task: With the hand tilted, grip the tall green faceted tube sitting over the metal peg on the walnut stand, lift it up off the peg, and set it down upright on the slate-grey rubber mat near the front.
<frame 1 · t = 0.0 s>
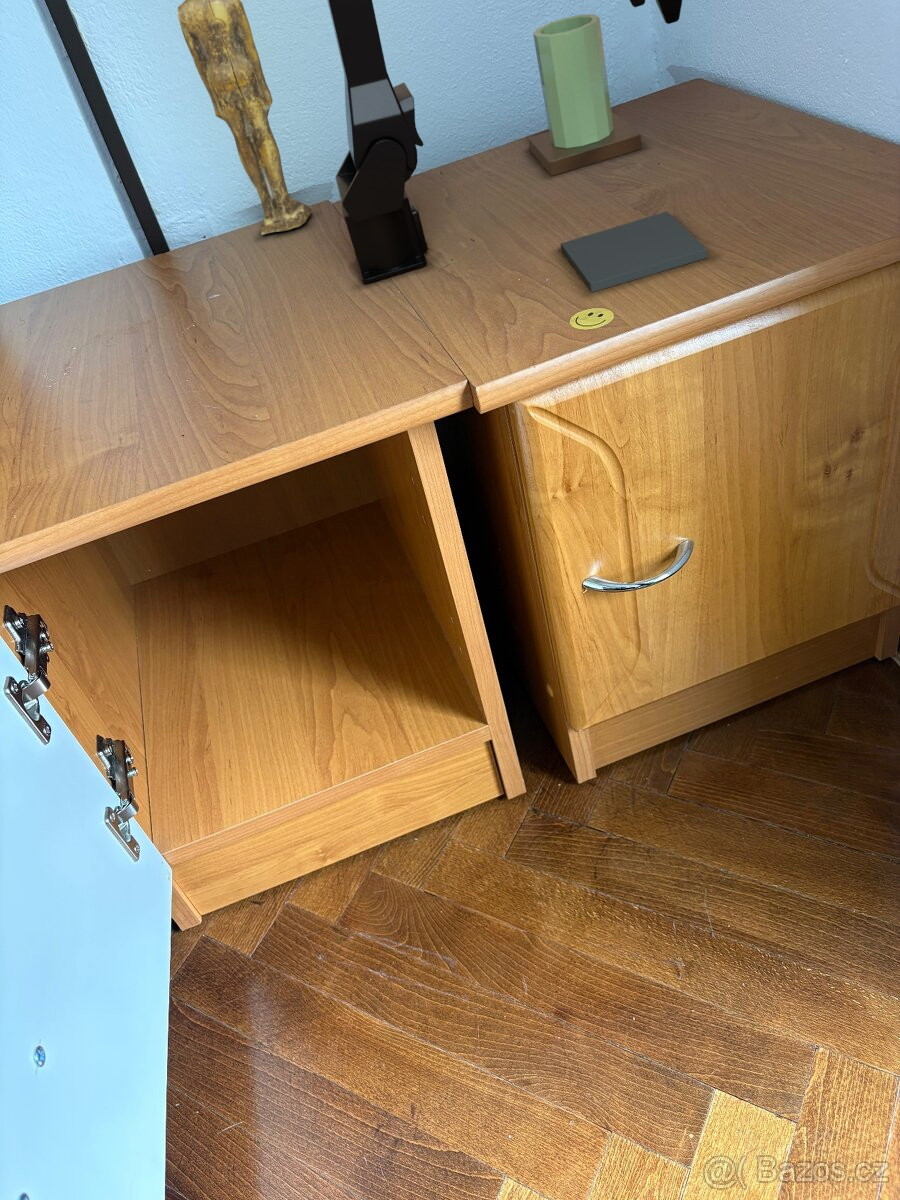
hand: (655, 13, 89), 15 cm above the table, tool pointing down, fingers open, 9 cm apart
stand: (584, 150, 111), on the table
mat: (631, 254, 88), on the table
sculpture: (287, 229, 115), on the table
green faceted tube: (582, 136, 110), point 1 cm above the table, touching stand
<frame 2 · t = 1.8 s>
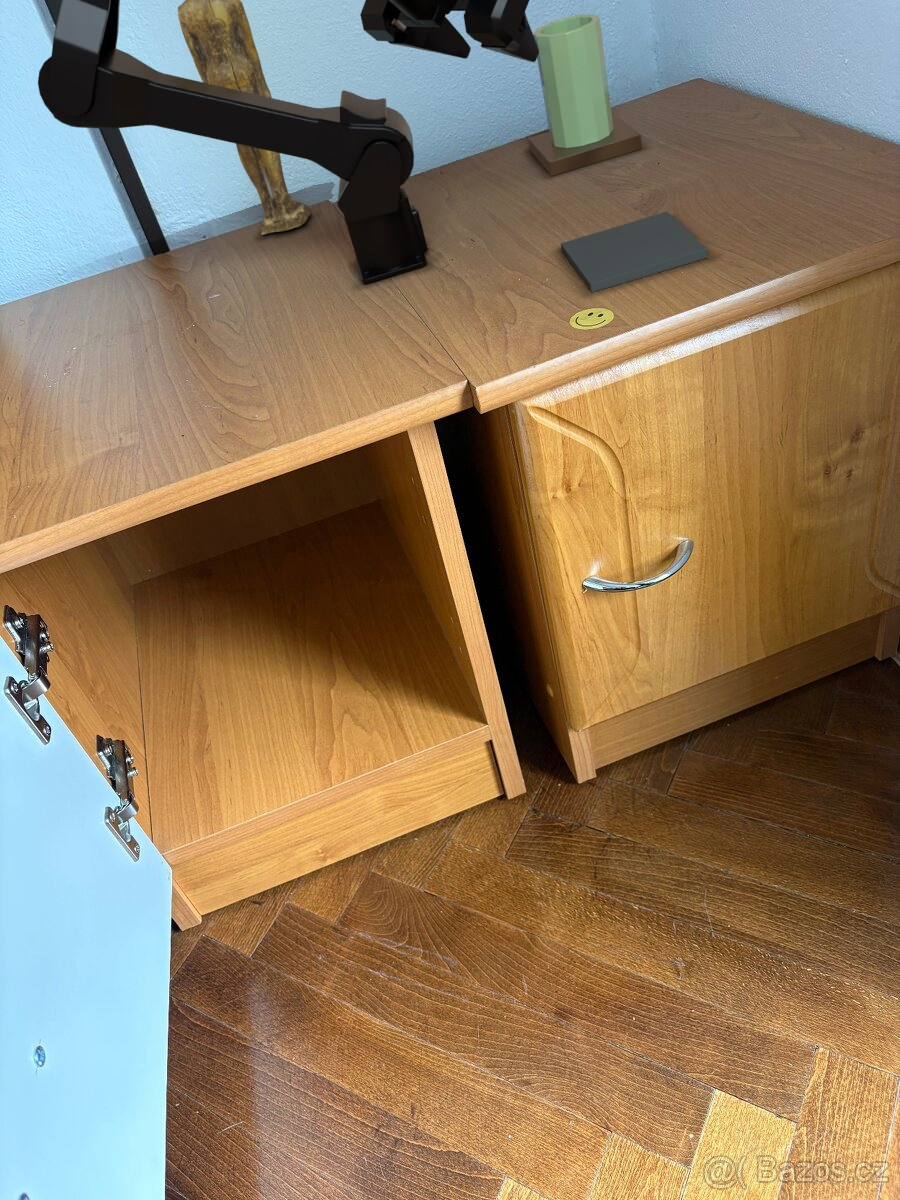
hand: (501, 55, 95), 14 cm above the table, tool tilted 45°, fingers open, 9 cm apart
nothing on the table moved.
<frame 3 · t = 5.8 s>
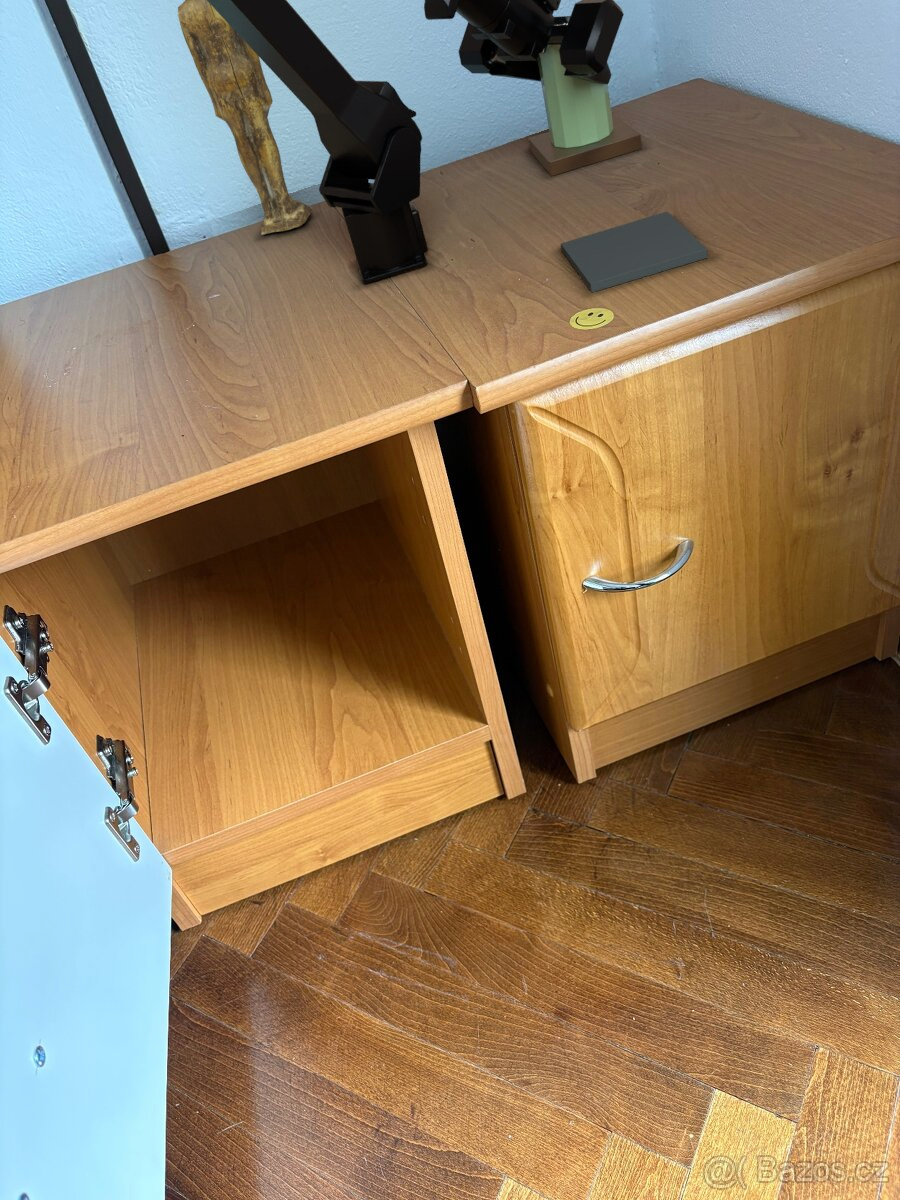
hand: (583, 79, 107), 7 cm above the table, tool tilted 45°, fingers closed on green faceted tube, 7 cm apart
green faceted tube: (582, 136, 110), point 2 cm above the table, touching gripper, stand
everything else where it was.
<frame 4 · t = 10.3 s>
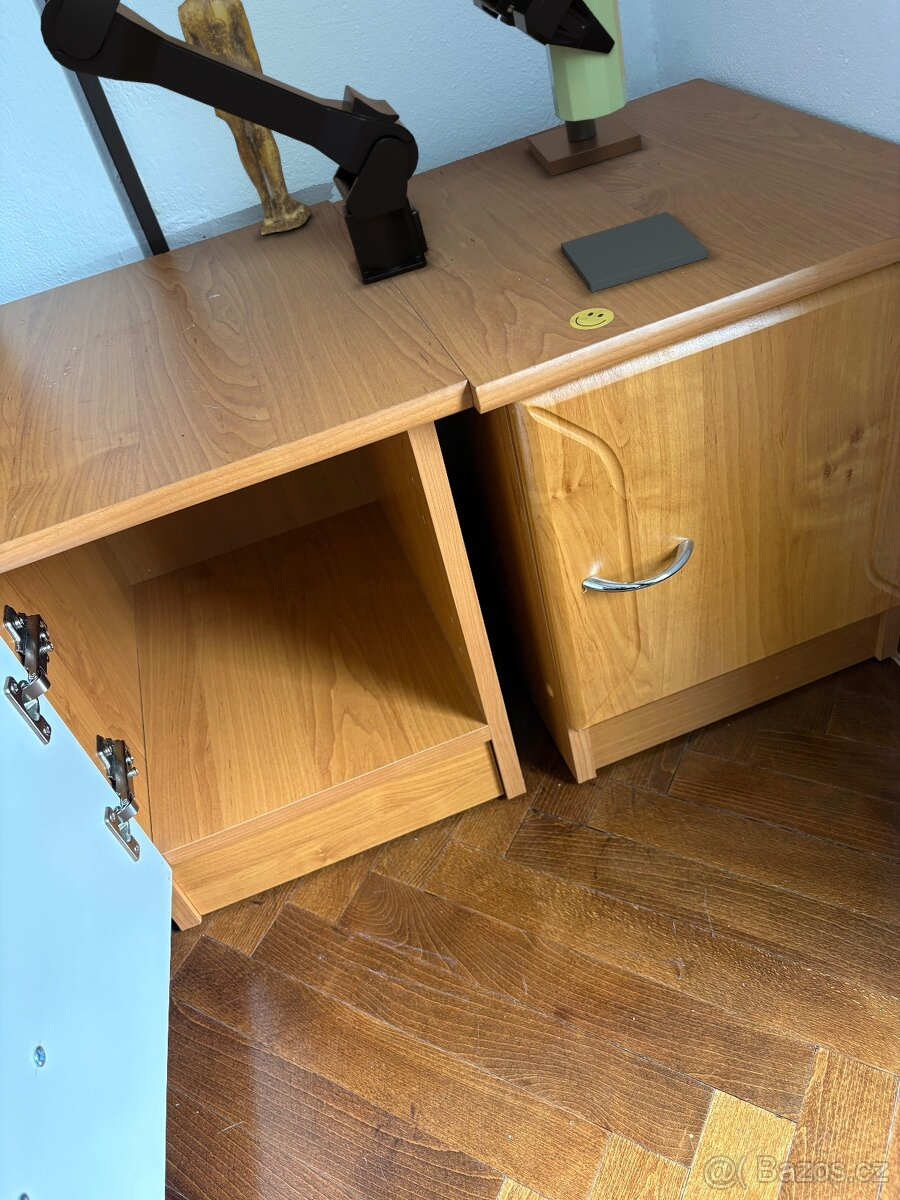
hand: (598, 41, 91), 13 cm above the table, tool tilted 45°, fingers closed on green faceted tube, 7 cm apart
green faceted tube: (591, 108, 95), point 8 cm above the table, touching gripper
everything else where it was.
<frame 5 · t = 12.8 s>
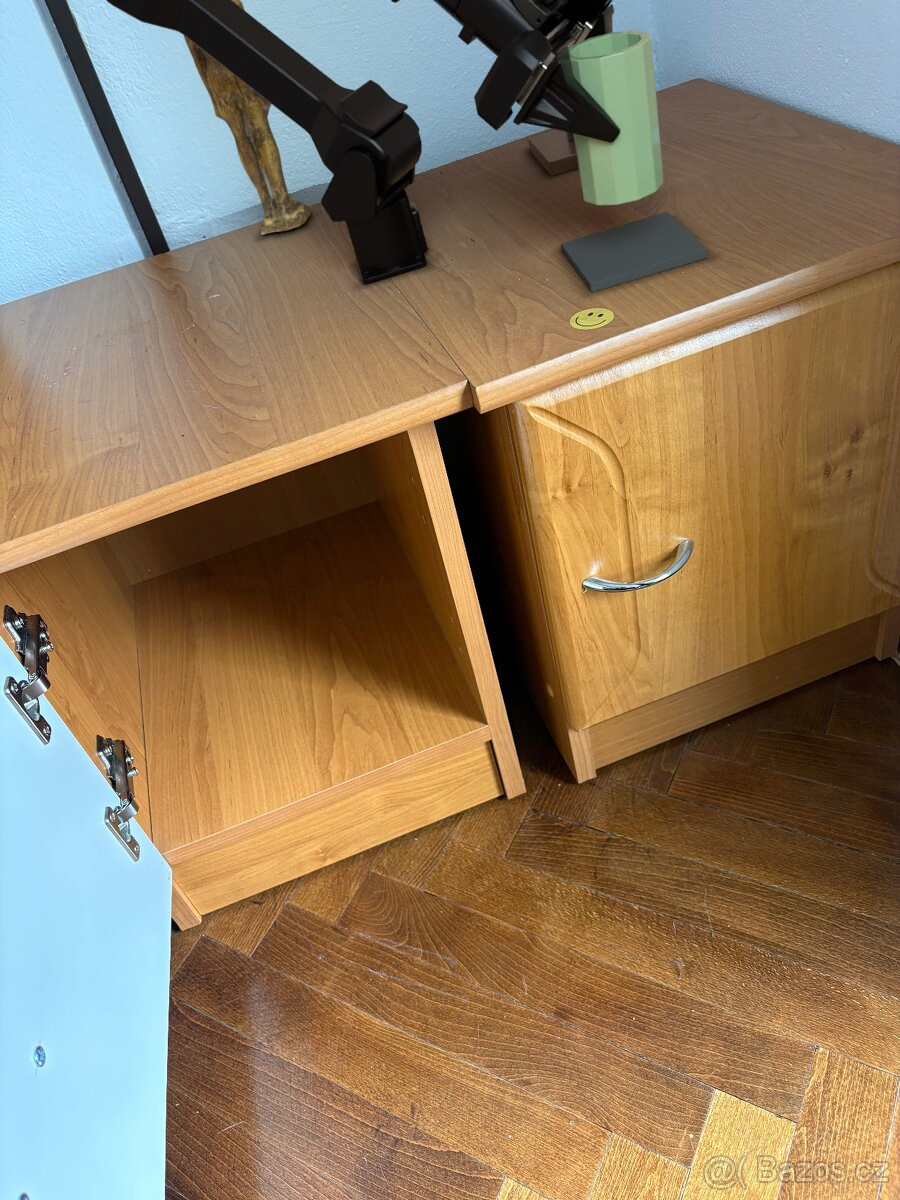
hand: (630, 121, 80), 11 cm above the table, tool tilted 45°, fingers closed on green faceted tube, 7 cm apart
green faceted tube: (622, 188, 84), point 6 cm above the table, touching gripper
everything else where it was.
when the fingers open (6 cm above the table, at t = 14.8 s): green faceted tube stays where it is, resting on mat.
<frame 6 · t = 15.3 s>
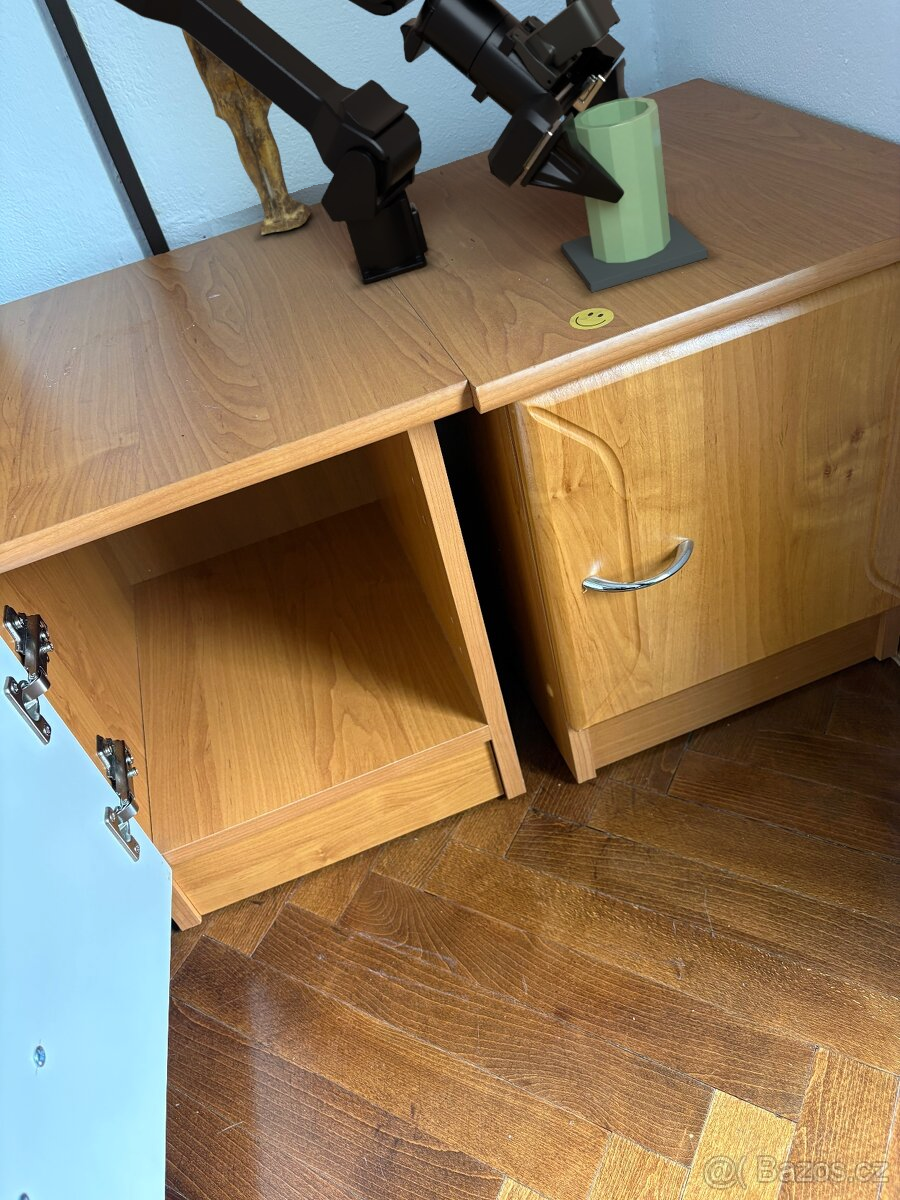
hand: (638, 175, 83), 7 cm above the table, tool tilted 45°, fingers open, 9 cm apart
green faceted tube: (630, 245, 87), point 1 cm above the table, touching mat
everything else where it was.
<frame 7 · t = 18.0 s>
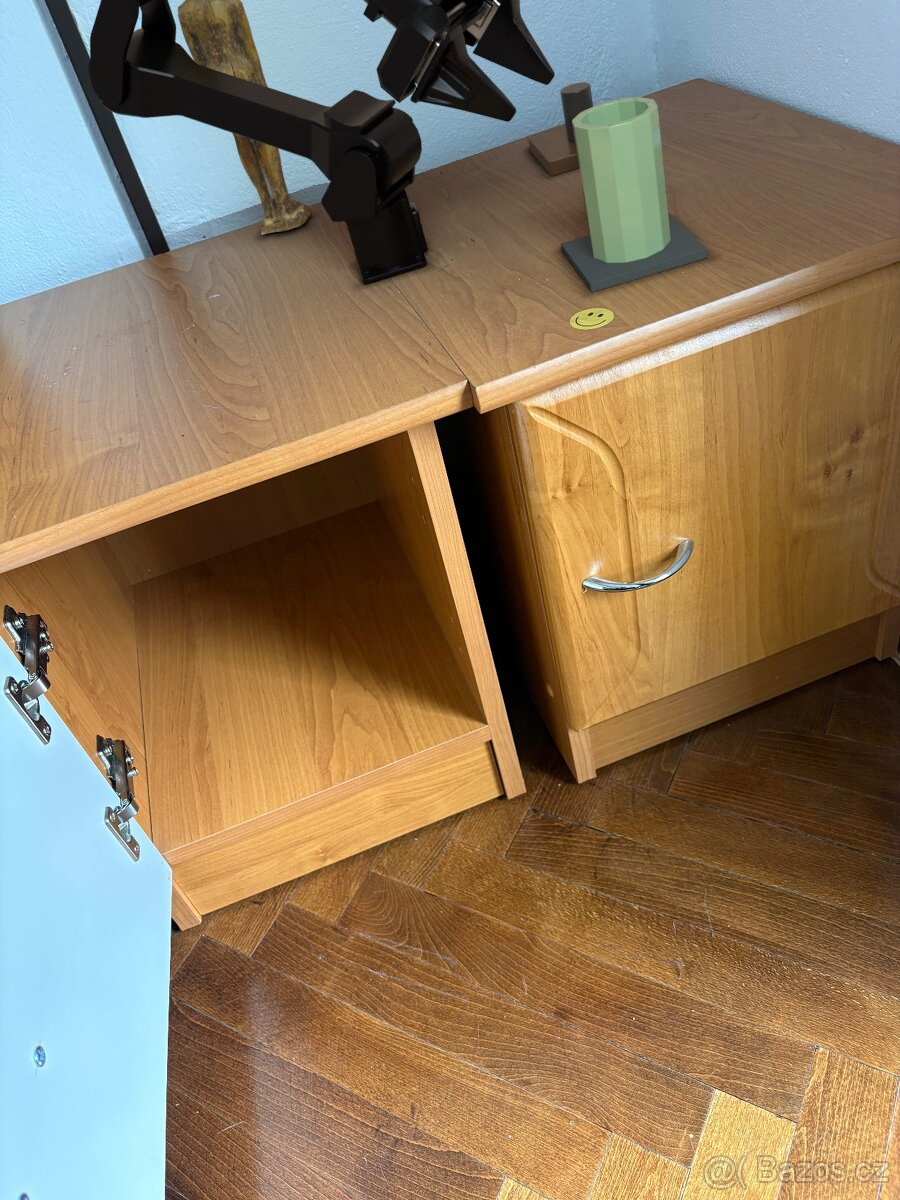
hand: (533, 97, 82), 14 cm above the table, tool tilted 45°, fingers open, 9 cm apart
nothing on the table moved.
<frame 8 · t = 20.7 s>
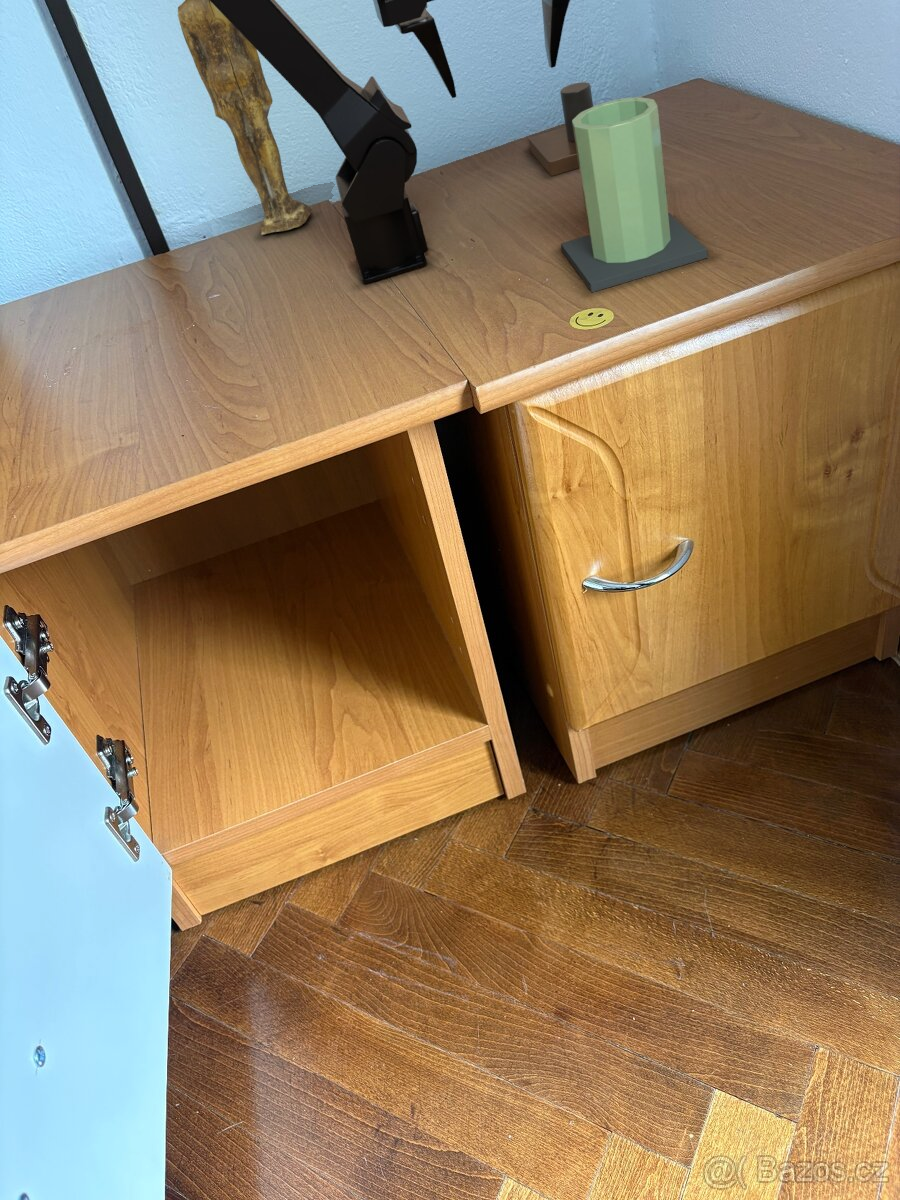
hand: (502, 81, 90), 13 cm above the table, tool pointing down, fingers open, 9 cm apart
nothing on the table moved.
at the end: green faceted tube inside the target area on the mat (0.0 cm from its centre), point 0.8 cm above the mat's base; green faceted tube tilted 0°; green faceted tube touching mat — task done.
